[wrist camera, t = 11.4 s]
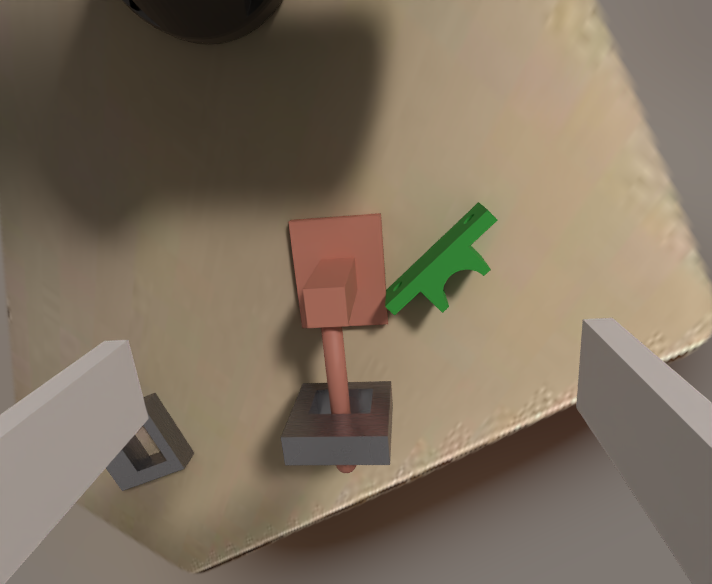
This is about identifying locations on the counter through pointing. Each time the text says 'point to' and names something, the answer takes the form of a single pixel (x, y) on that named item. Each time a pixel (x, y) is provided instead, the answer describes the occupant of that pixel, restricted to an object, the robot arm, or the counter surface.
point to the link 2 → (340, 427)
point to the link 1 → (140, 467)
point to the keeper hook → (339, 287)
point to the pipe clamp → (443, 262)
